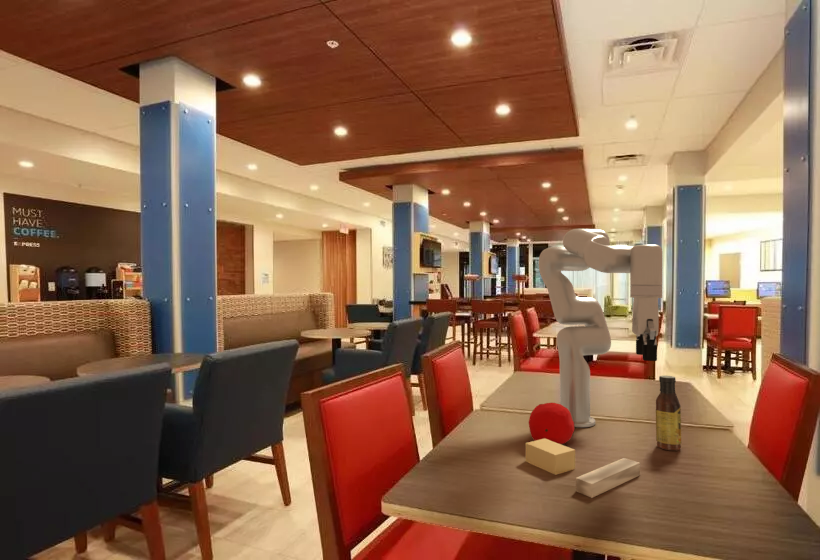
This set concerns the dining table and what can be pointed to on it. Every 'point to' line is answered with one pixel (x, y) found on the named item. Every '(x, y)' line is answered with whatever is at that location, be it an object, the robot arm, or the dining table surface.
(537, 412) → the tomato
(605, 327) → the robot arm
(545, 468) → the block
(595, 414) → the dining table surface
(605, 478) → the pale grey bar
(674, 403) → the sauce bottle
